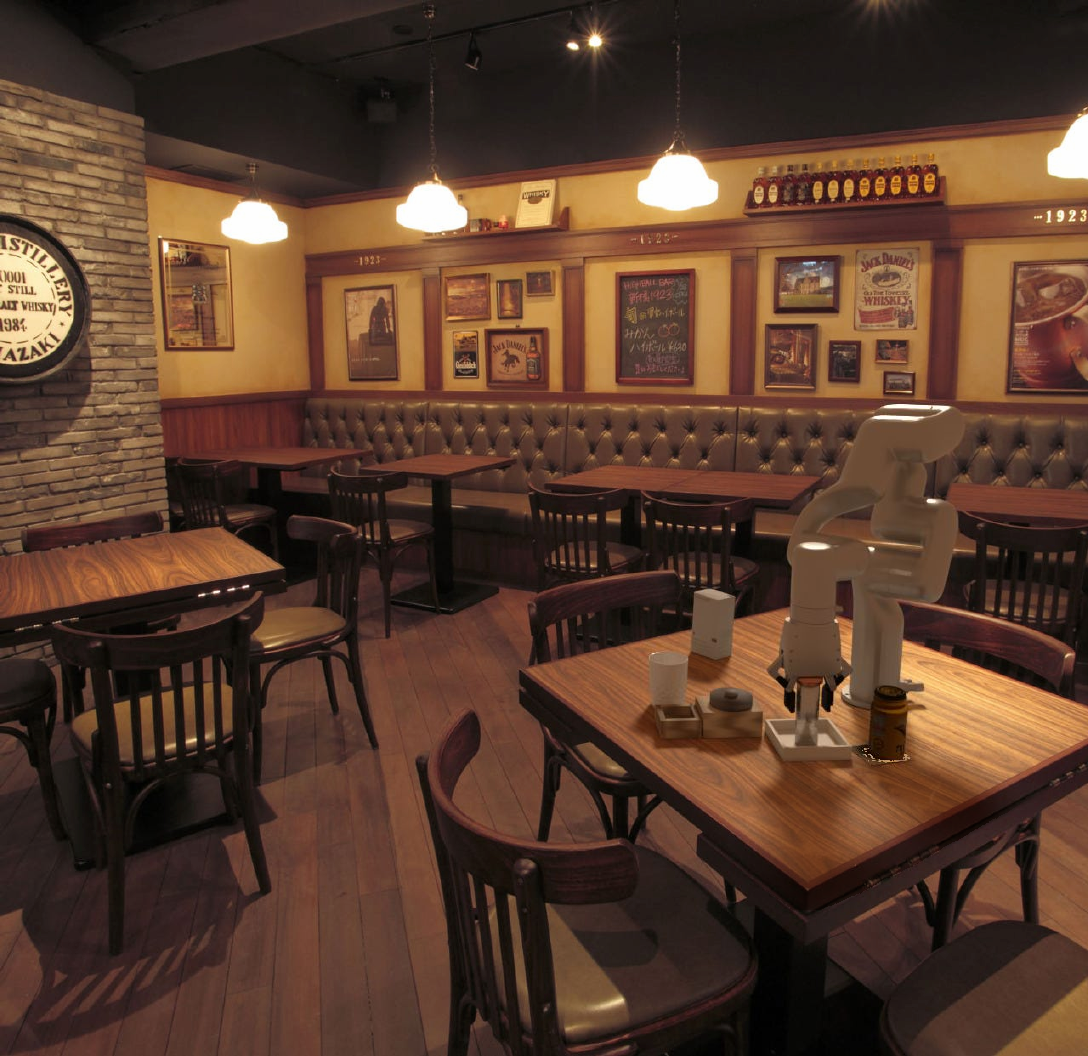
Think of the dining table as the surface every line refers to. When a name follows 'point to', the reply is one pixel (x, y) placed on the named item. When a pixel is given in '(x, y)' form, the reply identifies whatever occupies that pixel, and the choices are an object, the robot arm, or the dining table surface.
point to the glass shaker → (807, 711)
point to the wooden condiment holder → (712, 716)
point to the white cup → (668, 677)
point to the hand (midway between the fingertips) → (808, 708)
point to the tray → (828, 746)
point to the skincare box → (712, 623)
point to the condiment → (886, 726)
